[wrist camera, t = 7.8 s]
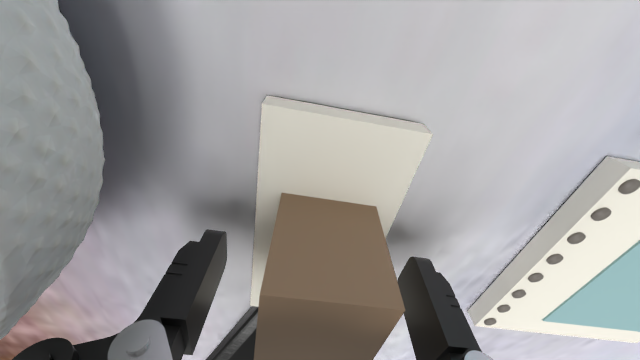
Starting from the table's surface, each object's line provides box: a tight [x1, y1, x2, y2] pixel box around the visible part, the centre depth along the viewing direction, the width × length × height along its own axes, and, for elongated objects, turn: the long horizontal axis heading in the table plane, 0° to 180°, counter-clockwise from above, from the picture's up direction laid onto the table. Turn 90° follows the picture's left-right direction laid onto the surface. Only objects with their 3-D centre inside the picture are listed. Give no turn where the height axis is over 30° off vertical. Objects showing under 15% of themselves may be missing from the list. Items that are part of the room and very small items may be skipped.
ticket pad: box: [468, 156, 640, 343], centre depth 14 cm, size 12×12×1 cm
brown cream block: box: [250, 95, 433, 360], centre depth 11 cm, size 6×12×6 cm, turn 170°
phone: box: [206, 306, 258, 360], centre depth 20 cm, size 8×1×15 cm
